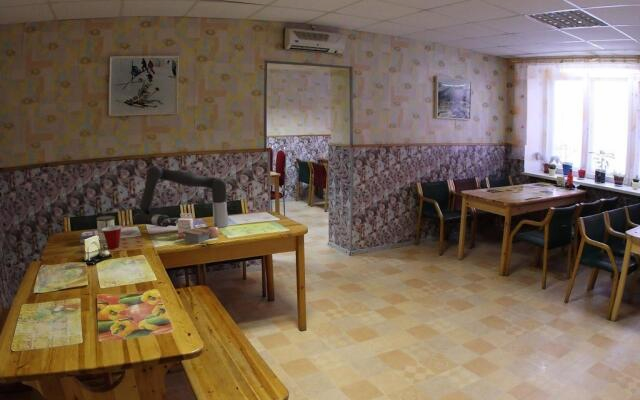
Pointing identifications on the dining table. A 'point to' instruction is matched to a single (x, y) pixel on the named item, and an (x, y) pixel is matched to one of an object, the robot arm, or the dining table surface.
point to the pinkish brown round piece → (213, 232)
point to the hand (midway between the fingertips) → (180, 222)
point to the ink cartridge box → (184, 223)
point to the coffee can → (104, 225)
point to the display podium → (196, 235)
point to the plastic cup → (112, 236)
